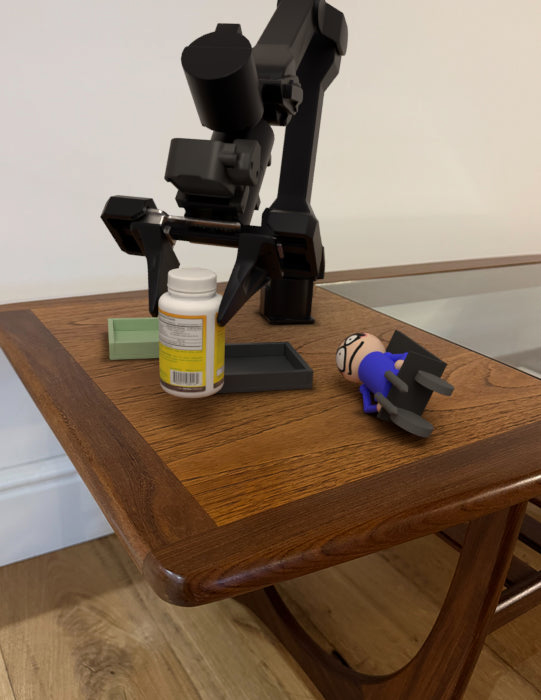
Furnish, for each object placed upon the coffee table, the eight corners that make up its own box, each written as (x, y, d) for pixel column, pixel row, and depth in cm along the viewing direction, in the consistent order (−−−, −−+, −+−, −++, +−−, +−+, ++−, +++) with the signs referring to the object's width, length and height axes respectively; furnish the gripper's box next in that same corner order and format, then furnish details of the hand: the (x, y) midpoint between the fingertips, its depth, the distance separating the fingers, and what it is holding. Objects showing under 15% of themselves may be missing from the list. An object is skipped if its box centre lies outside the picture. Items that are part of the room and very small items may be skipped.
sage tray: (197, 331, 80) (198, 316, 79) (209, 356, 71) (210, 339, 71) (108, 333, 77) (107, 318, 76) (109, 360, 68) (109, 343, 68)
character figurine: (386, 456, 52) (328, 387, 66) (464, 444, 54) (391, 379, 67) (391, 371, 49) (329, 317, 63) (472, 361, 51) (394, 310, 65)
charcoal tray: (287, 357, 72) (288, 341, 72) (312, 388, 64) (313, 370, 63) (192, 361, 69) (192, 344, 69) (205, 394, 61) (205, 375, 60)
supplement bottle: (205, 370, 57) (207, 262, 54) (235, 393, 53) (239, 277, 49) (148, 381, 54) (147, 267, 51) (175, 406, 50) (176, 284, 46)
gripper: (107, 95, 51) (36, 251, 45) (328, 107, 47) (283, 280, 41) (150, 185, 61) (97, 322, 55) (335, 201, 57) (301, 352, 51)
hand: (185, 319), depth 50 cm, fingers closed on supplement bottle, 5 cm apart
